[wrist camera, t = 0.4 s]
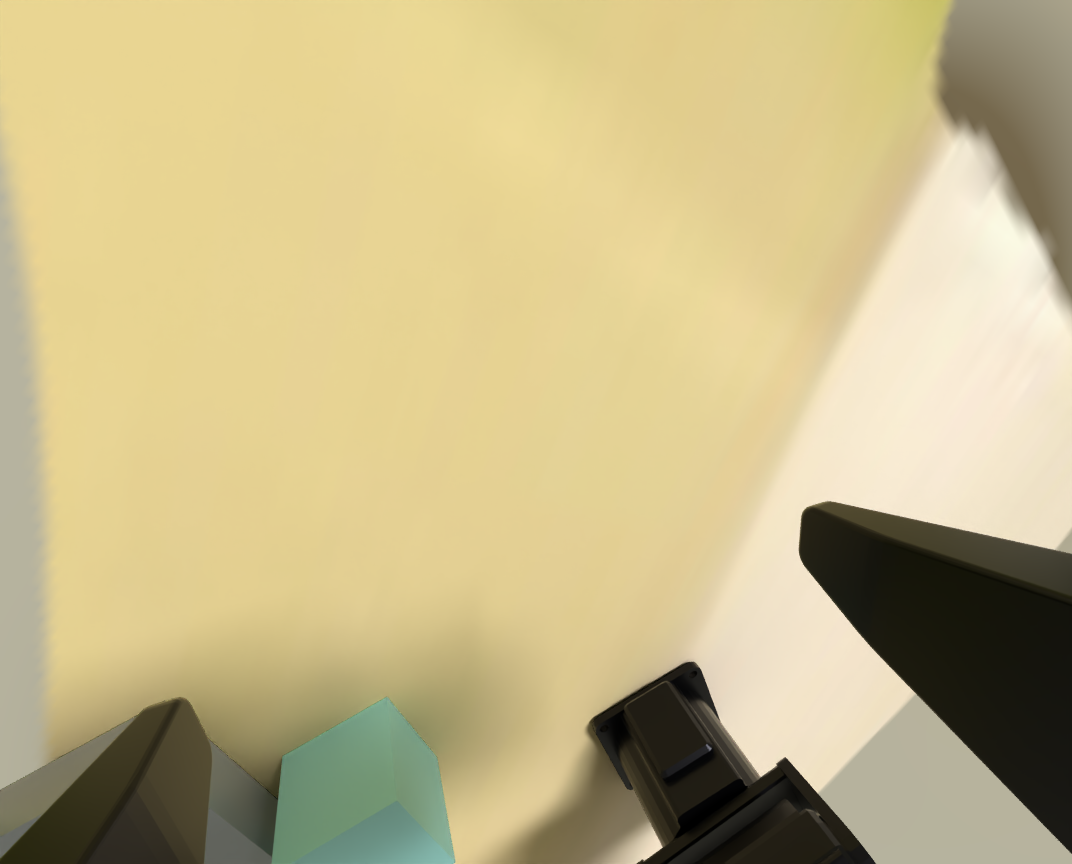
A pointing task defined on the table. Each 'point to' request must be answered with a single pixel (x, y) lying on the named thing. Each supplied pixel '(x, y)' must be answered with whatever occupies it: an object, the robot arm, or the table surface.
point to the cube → (363, 796)
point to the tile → (233, 816)
